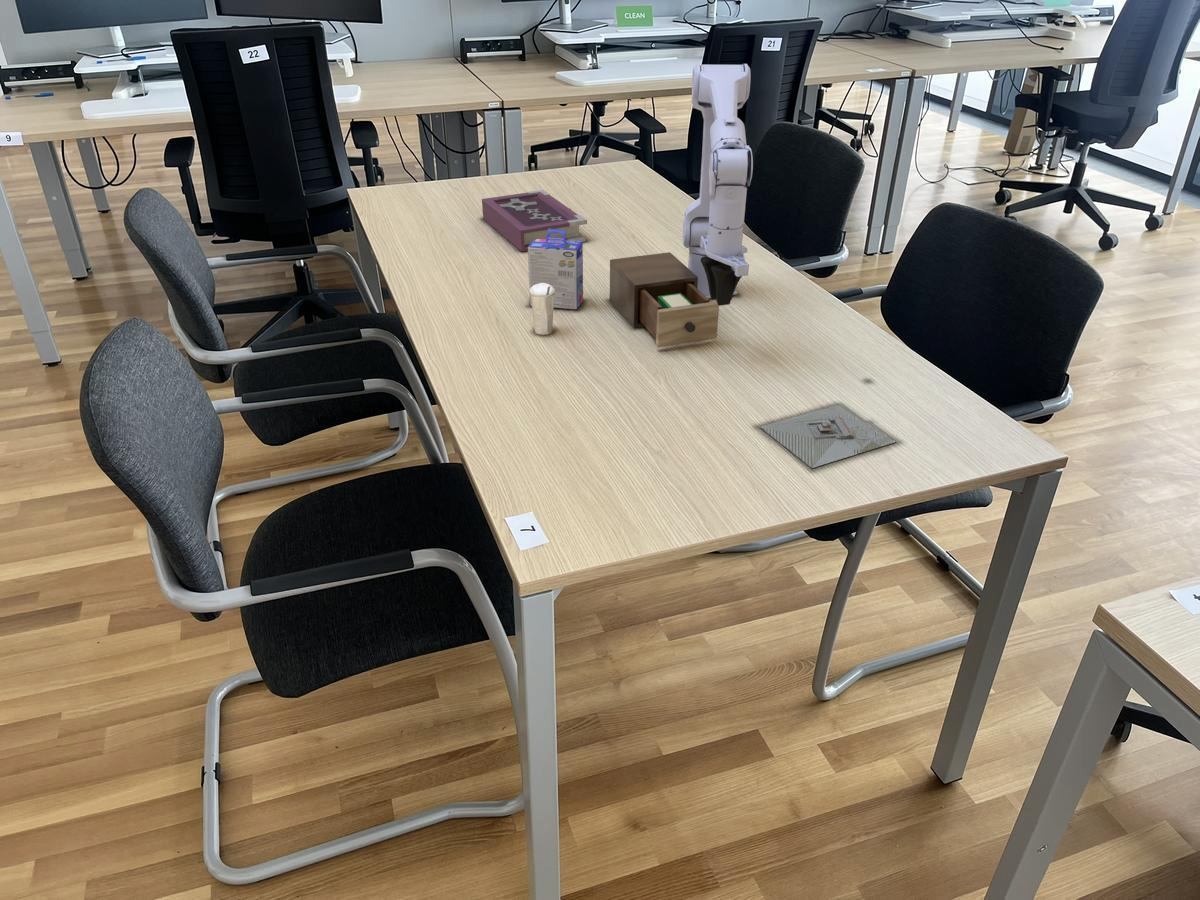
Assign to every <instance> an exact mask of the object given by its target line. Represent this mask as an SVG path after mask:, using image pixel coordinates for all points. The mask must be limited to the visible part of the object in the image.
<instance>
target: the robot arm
mask: <svg viewBox="0 0 1200 900" xmlns="http://www.w3.org/2000/svg"><path fill="white" fill-rule="evenodd" d="M750 91H751V68H750V66H749V65H748V63H742V64H701V63H695V65H694V66H693V68H692V77H691V104H692V109H696V110H698V111H700V112H701V114H702V119H703V128H702V129H703V130H702V147H701V151H702V152H701V164H700V165H701V166H700V183H699V197H698V198H697V199H695V200H693V202H691V203H690V204H688V205H687V206H686V207H685V209H684V217H683V221H682V246H684V248H685V249H688V259H687V260H688V261H687V268H688V269H690V270H691V271H692V272H693V273H694V274H695V275H696V276H698V287H697V289H698V290H699V291H700V292H701V293H703V294H704V295H705V296H706V297H707V298H708V299H709V300H710V299H711V300H716V302H717V304H718V305H719V307H720V306H728V305H730V304H731V302H732V299H733V296H736V295H737V294H738V291H737V286H738V283H739V282H740V281H741V279H742V277H746V276H749V270H750V269H749V268H750V264H749V263H748V261H747V259H746V257H745V254H747V253H748V249H749V248H748V247H746V246H745V245H743V237H744V225H745V215H746V214H745V213H746V204H747V203H746V202H747V194H748V193H747V191H748V187H750V185H751V181H752V178H753V172H754V171H753V170H754V158H753V151H752V148H751V147H750V145H747V137H746V127H745V123H744V122H743V121H742V120H741V119H740V118H739V117H738V110H740V109H742V108H743V106H744V105H745V103H746V102H747V100H748V99H749V98H750V97H749V96H750Z"/></svg>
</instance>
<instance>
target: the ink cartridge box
mask: <svg viewBox="0 0 1200 900" xmlns="http://www.w3.org/2000/svg"><path fill="white" fill-rule="evenodd" d="M552 233H559V234H562V235H563V237H561V238H559V237H551V236H550V234H552ZM565 238H566V230H561V229H548V233H547V238H546V239H535V240H534V241H533V242H532V243H531V244H530V245H529V247H528V251H527V259H528V260H527V261H528V288H529V289H528V292H529V294H530V288H531V287H532V286H534V285H535V284H539V283H546V284H549V285H551V286H552V287H553V288H554V289H555V295H554V308H555V309H566V310H578V308H580V306H581V304H582V303H583V302H584V257H583V256H584V251H583V250H584V247H583V246H584V245H583V244H584V242H582V241H567V240H565ZM529 306H531V307H532V304H531V297H530V296H529Z"/></svg>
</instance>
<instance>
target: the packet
mask: <svg viewBox="0 0 1200 900" xmlns="http://www.w3.org/2000/svg"><path fill="white" fill-rule="evenodd" d="M658 303H659V304H660V305H661V306H662V309H667V308H674V307H681V306H688V305H693V304H692V303H691V302H690V301H689V300H688V299H686V298H685V297H684V296H683V295H682V294H681V293H677V294H670V295H663V296H658Z"/></svg>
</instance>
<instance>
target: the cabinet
mask: <svg viewBox="0 0 1200 900" xmlns="http://www.w3.org/2000/svg"><path fill="white" fill-rule="evenodd" d="M685 282H690V283H692V284H693V285H694V286H695V287H696V288H697V287H698V276H696V275H695V274H694V273H693V272H692V271H691V270H690V269H688V266H686V264H684V263H683V262H681V260H680V259H679V258H678V257H676V256H675V255H674V254H673V253H672V252H670V251H667V252H661V253H651V254H645V255H636V256H628V257H620V258H612V259H609V302H610V303H611V304H612V305H613V306H614V308H615V309H616V310H617V311H618V312H619V313H620V314H621V315H622V317H623V318H624V319H625V320H626V321H627V323H629V325H630V326H631V327H632V328H633V329H638V328H639V329H640V328H646V327H645V326H644V325H643V324H642V323H641V322H640V321H639V319H638V290H639V289H640V288H647V287H655V286H662V285H670V284H677V283H685Z"/></svg>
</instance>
